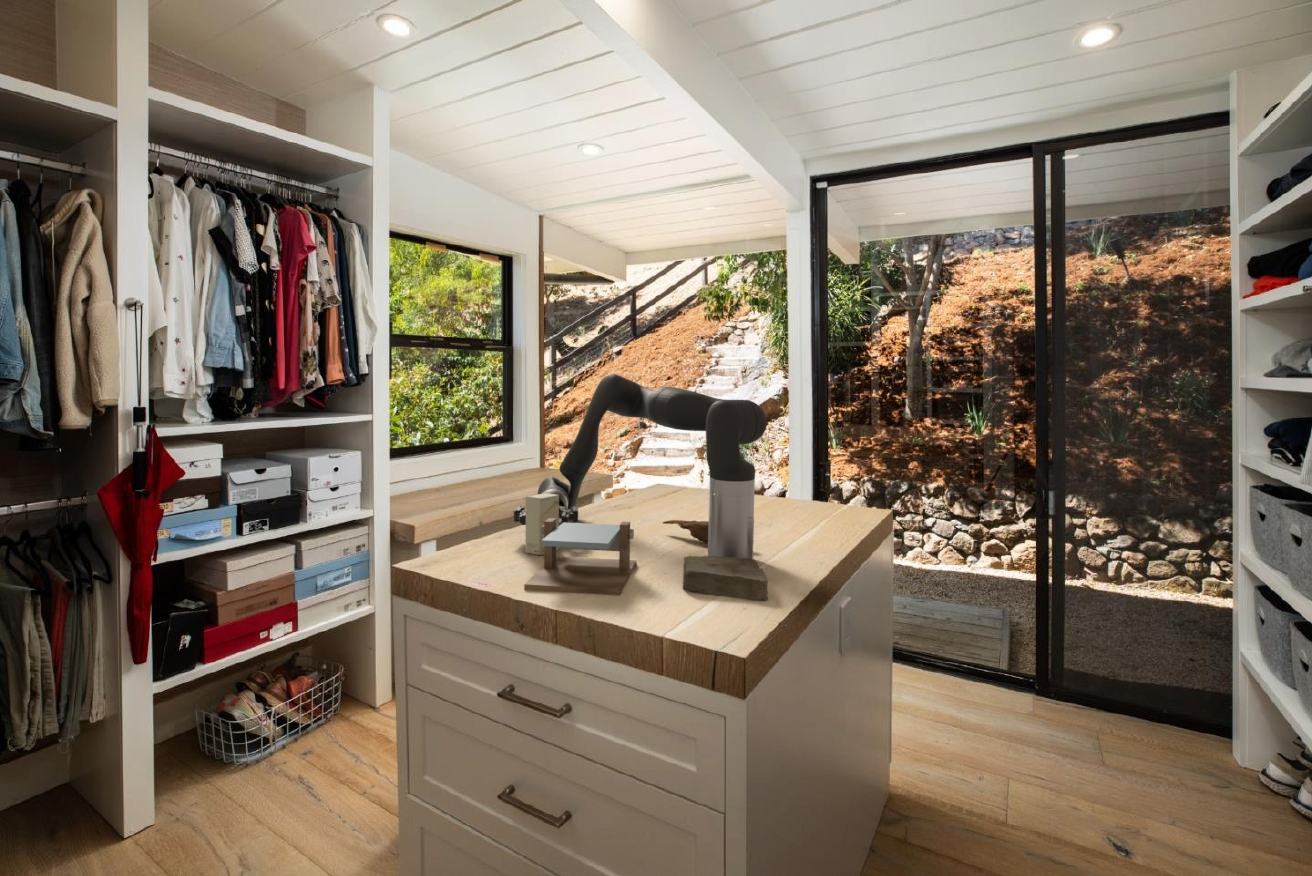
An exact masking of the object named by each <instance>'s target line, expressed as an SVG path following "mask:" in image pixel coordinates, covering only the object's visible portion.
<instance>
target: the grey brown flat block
mask: <svg viewBox="0 0 1312 876" xmlns="http://www.w3.org/2000/svg"><path fill="white" fill-rule="evenodd" d="M683 561H684V562H683V569H682V570H683V572H682V573H683V574H682V575H683V576H682V590H683V591H686V592H690V593H693V594H700V595H708V596H709V595H710V596H716V597H726V598H727V597H728V598H732V599H739V600H746V601H759V602H766V601H767V600H768V599H769V596H768V595H769V592H768V586H769V584H768V578H767V575H766V574H765V571H764V570H763V568H760V565H759V563H758V562H757V561H756V560H755V559H754V558H753V559H747V558H744V559H741V558H734V557H718V556H708V555H707V556H705V555H703V556H700V555H699V556H698V555H697V556H696V555H688V556H684V559H683Z"/></svg>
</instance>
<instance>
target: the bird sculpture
mask: <svg viewBox="0 0 1312 876" xmlns="http://www.w3.org/2000/svg"><path fill="white" fill-rule="evenodd" d="M662 524H663V525H664V524H665V525H667V524H668V525H673V524H675V525H678V526H679V528H680V529H683V530H688V531H689V532H690V534H689V535H690V536H691V537H692V538H693V539H697V540H698V541H699V542H702V543H707V544H708V527H709V520H708V521H707V520H700V521H698V520H680V519H678V520H677V519H672V520H666V521H662ZM754 542H755V540H754V539H753V543H754Z"/></svg>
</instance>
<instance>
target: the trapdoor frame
mask: <svg viewBox="0 0 1312 876" xmlns="http://www.w3.org/2000/svg"><path fill="white" fill-rule="evenodd" d="M619 525H620V544H619V551H618V552H619V554H618V557H619V558H618V559H616V558H615V559H613V558H598V557H597V558H594V557H579V556H578V557H577V556H559V555H558V556H557V551H556V547H555V546H544V554H543V566H542V567H541V568H540V569H539V570H538V571H537V572H536V573H534V574H533V576H531V577H530V578H529V579H528V580H527V581H526V582H525V583H524V586H523V587H524V588H523V589H524V591H538V592H539V591H540V592H556V593H573V594H574V593H575V594H589V595H590V594H591V595H592V594H593V595H606V596H607V595H610V596H621V594H622V592H623V590H624V588H625V587H626V585H627V583H628V581H629V580H630V578H631V576H632V575H633V572H634V570H635V569H636V568H637V565H638V564H637V562H638V561H637V560H636V559H635V560H634V559H631V558H630V557H631V554H630V553H631V540H633V539H634V536H635V535H634V533H635V531H634V530H635V529H634V528H632V529H631V521H626V520H625V521H624V520H623V521H621V523H619ZM555 529H556V518H548V519H547V520H546V521H544V525H542V528H541V534H542V535H544V538H545V537H546V536H547V535H549V534H550V533H551V532H552V531H554V530H555Z"/></svg>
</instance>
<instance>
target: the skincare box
mask: <svg viewBox="0 0 1312 876" xmlns="http://www.w3.org/2000/svg"><path fill="white" fill-rule="evenodd" d="M525 509H526V525H525V553H527V554H531V555H538V556H542V555H543V556H544V546H541V540H542V539H544V535H542V534H541V528H542V525H544V521H546V520H547V519H548V518H556V528H557V527H559V526H560V523H559V495H555V494H547V493H542V494H538V493H537V494H533V495H527V496H525ZM559 549H560V548H559V547H556V552H557V551H559Z"/></svg>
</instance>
